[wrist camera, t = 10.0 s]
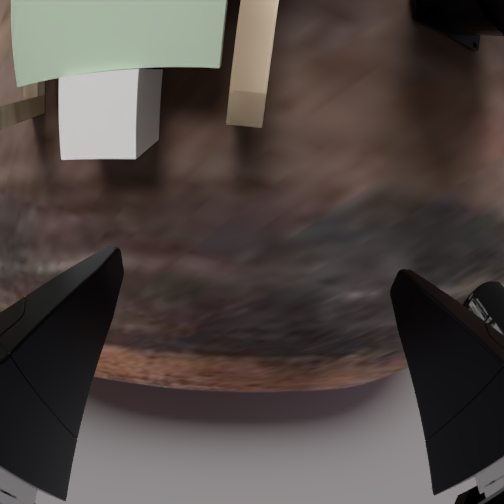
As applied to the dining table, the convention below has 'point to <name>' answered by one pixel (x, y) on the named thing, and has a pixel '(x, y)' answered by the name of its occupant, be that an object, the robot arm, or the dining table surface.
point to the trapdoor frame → (242, 76)
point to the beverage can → (488, 304)
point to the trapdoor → (113, 36)
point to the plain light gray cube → (109, 113)
